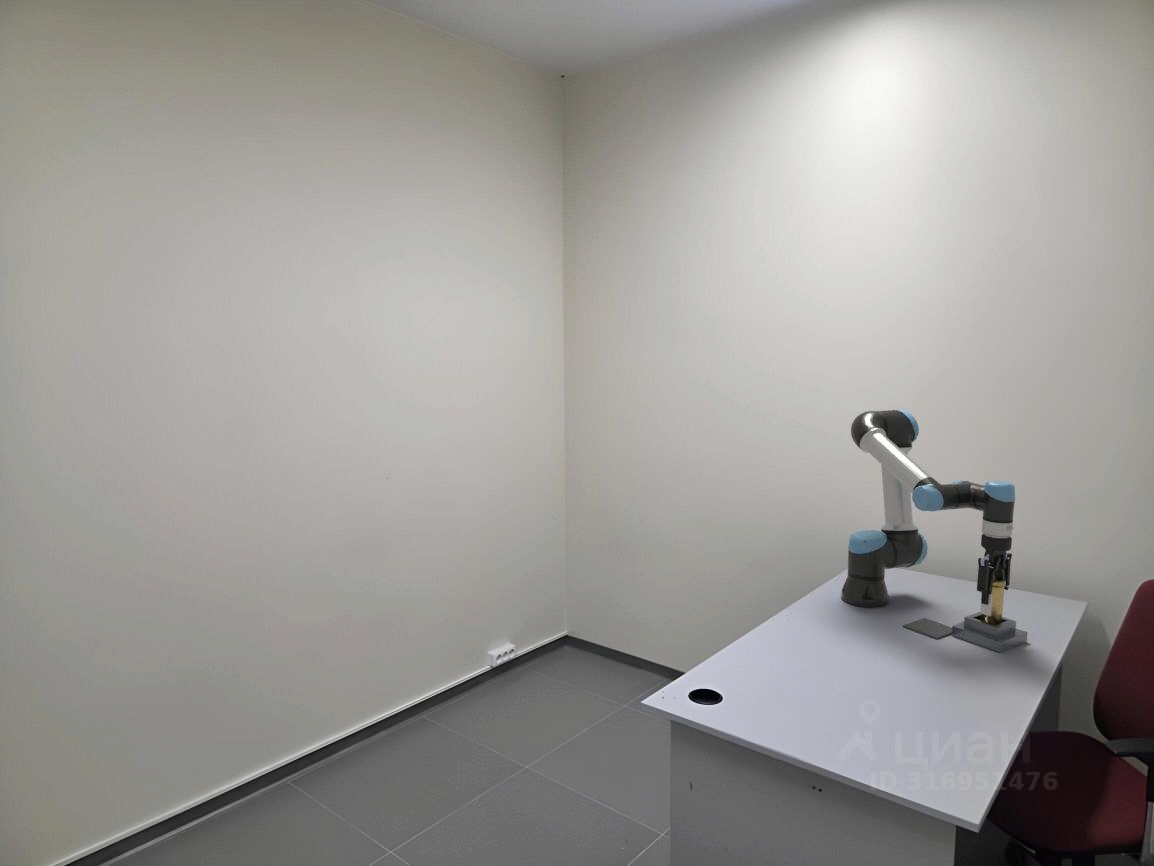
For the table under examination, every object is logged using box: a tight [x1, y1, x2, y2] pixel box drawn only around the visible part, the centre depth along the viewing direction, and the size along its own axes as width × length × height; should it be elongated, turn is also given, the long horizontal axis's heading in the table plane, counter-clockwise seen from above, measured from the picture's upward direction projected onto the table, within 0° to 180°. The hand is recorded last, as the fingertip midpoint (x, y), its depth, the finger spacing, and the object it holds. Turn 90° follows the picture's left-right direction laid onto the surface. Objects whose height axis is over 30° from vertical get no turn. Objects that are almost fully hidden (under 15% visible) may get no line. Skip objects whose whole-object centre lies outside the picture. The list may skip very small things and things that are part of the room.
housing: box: [951, 611, 1028, 654], centre depth 203 cm, size 14×14×6 cm
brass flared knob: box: [980, 577, 1007, 625], centre depth 202 cm, size 6×6×14 cm
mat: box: [902, 617, 952, 640], centre depth 210 cm, size 11×11×1 cm
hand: (991, 612), depth 202 cm, fingers closed on brass flared knob, 5 cm apart
